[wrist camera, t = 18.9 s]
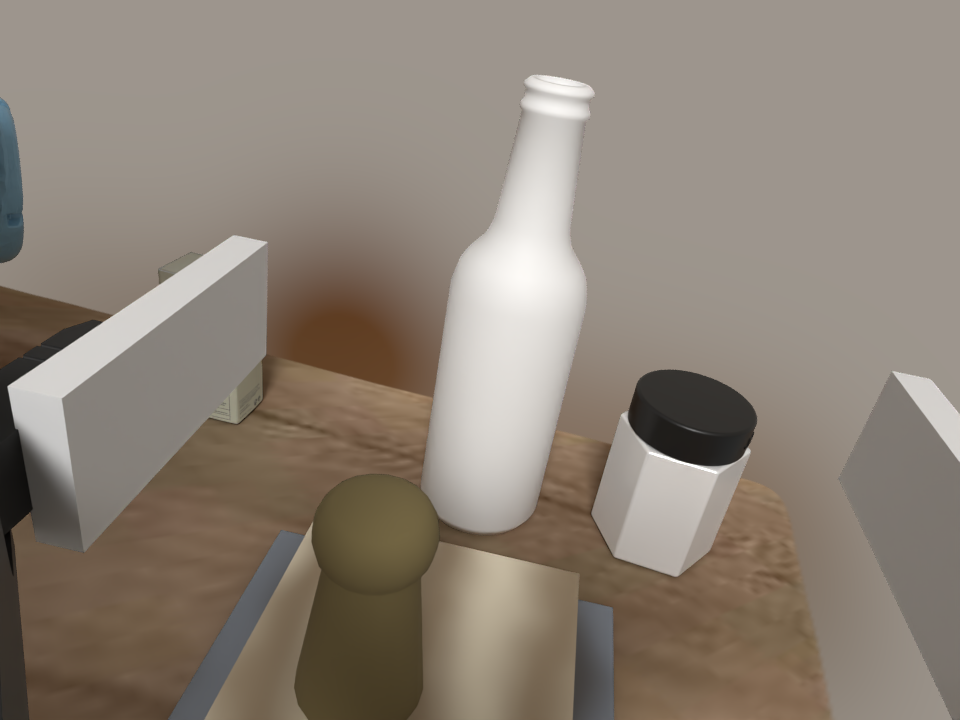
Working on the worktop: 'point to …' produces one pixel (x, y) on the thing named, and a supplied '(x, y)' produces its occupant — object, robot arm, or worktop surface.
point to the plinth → (424, 642)
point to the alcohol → (512, 327)
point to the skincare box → (251, 386)
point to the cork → (367, 601)
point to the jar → (673, 469)
